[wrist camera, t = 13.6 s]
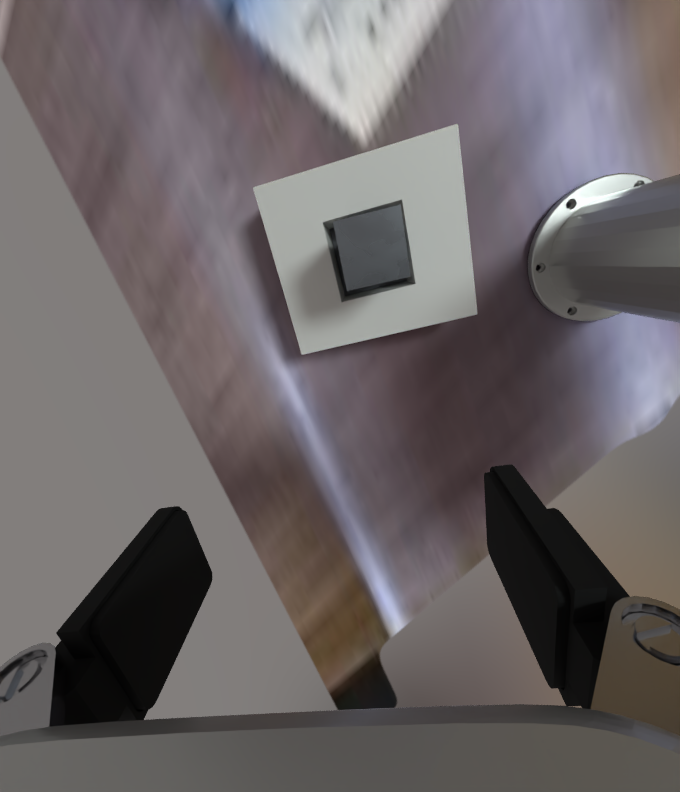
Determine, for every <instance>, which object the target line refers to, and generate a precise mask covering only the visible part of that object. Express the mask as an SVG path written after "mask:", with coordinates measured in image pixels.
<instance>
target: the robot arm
mask: <svg viewBox="0 0 680 792" xmlns="http://www.w3.org/2000/svg"><path fill="white" fill-rule="evenodd" d="M566 203H568V207H567V208H566ZM537 265H538V266H539V268H538V270H536V266H537ZM528 276H529V281H530V285H531V288H532V290H533V292H534V294H535V296H536V298H537V299H538V300H539V302H540V303H541V304H542V305H543V306H544V307H545V308H547V309H548V310H549V311H550V312H552V313H554V314H556V315H558V316H560V317H563V318H567V319H570V320H577V321H596V320H601V319H606V318H609V317H612V316H614V315H617V314H619V313H622V312H624V313H629V314H635V315H640V316H646V317H651V318H656V319H662V320H667V321H673V322H678V323H680V174H679V175H675V176H672V177H668V178H665V179H661V180H657V181H653V180H651V179H649V178H647V177H644V176H640V175H637V174H628V173H618V174H612V175H606V176H602V177H600V178H597V179H594V180H591V181H589V182H587V183H585V184H582V185H580V186H578V187H576V188H575V189H573V190H572V191H571V192H569V193H568V194H566V195H565V196H564V197H562V198H561V199H560V200H559V201H558V202H557V203H556V204H555V205H554V206H553V207H552V208H551V209H550V211H549V212H548V213H547V215H546V216H545V217H544V218H543V220H542V222H541V223H540V225H539V227H538V229H537V231H536V232H535V235H534V238H533V240H532V243H531V246H530V251H529V256H528ZM568 309H569V311H568ZM567 311H568V312H567ZM484 484H485V506H486V528H487V546H488V551H489V554H490V557H491V559H492V561H493V563H494V566H495V568H496V570H497V573H498V575H499V577H500V579H501V581H502V583H503V586H504V587H505V590H506V593H507V595H508V597H509V599H510V601H511V603H512V606H513V608H514V610H515V613H516V615H517V617H518V619H519V621H520V624H521V626H522V628H523V630H524V633H525V635H526V637H527V639H528V641H529V644H530V646H531V648H532V650H533V652H534V655H535V657H536V659H537V661H538V663H539V666H540V668H541V670H542V672H543V675H544V677H545V679H546V681H547V683H548V685H549V686H550V687H551V688H558V689H559V691H560V693H561V695H562V698H563V700H564V702H565V704H566V706H554V705H524V704H515V705H467V706H432V707H406V708H382V709H358V710H334V711H312V712H292V713H270V714H249V715H230V716H209V717H191V718H171V719H155V720H144V718H145V716H146V713H147V711H148V709H150V708H152V707H153V705H154V704H155V703H156V701H157V699H158V697H159V694H160V692H161V690H162V688H163V686H164V684H165V681H166V679H167V677H168V675H169V673H170V671H171V669H172V666H173V664H174V662H175V660H176V658H177V656H178V653H179V652H180V649H181V647H182V645H183V643H184V641H185V639H186V636H187V634H188V632H189V630H190V628H191V626H192V623H193V621H194V619H195V617H196V615H197V613H198V611H199V609H200V607H201V604H202V602H203V600H204V598H205V596H206V593H207V591H208V589H209V587H210V585H211V582H212V571H211V569H210V566H209V564H208V561H207V559H206V557H205V554H204V552H203V550H202V547H201V545H200V543H199V540H198V538H197V535H196V533H195V531H194V528H193V526H192V524H191V521H190V519H189V517H188V515H187V512H186V511H184V510H182V509H181V508H180V507H168V508H161V509H159V510H158V511H156V513H155V514H154V515H153V516H152V517H151V519H150V520H149V521H148V522H147V524H146V525H145V526H144V527H143V528H142V530H141V531H140V532H139V533H138V535H137V536H136V537H135V538H134V539H133V541H132V542H131V543H130V544H129V545H128V547H127V548H126V549H125V550H124V552H123V553H122V554H121V555H120V556H119V558H118V559H117V560H116V561H115V562H114V564H113V565H112V566H111V567H110V568H109V570H108V571H107V572H106V573H105V575H104V576H103V577H102V578H101V579H100V580H99V582H98V583H97V584H96V585H95V587H94V588H93V589H92V590H91V592H90V593H89V594H88V595H87V596H86V597H85V599H84V600H83V601H82V602H81V603H80V605H79V606H78V607H77V608H76V610H75V611H74V612H73V613H72V614H71V616H70V617H69V618H68V619H67V621H66V622H65V623H64V624H63V625H62V627H61V628H60V629H59V630H58V632H57V635H58V636H59V638H60V639H61V642H60V643H59V644H58V645H57V646H56V648H55V646H53V645H52V644H51V643H41V644H37V645H34V646H31V647H29V648H28V649H25V650H23V651H21V652H20V653H18V654H17V655H15V656H14V657H12V658H11V659H9V660H8V661H7V662H6V663H5V664H4V665H2V666H1V667H0V792H680V609H678V608H676V607H674V606H671V605H669V604H667V603H665V602H662V601H659V600H656V599H652V598H648V597H639V596H632V597H630V596H629V595H628V594H627V592H626V591H625V590H624V589H623V588H622V586H621V585H620V584H619V583H618V582H617V580H616V579H615V578H614V577H613V575H612V574H611V573H610V572H609V570H608V569H607V568H606V567H605V566H604V564H603V563H602V562H601V561H600V559H599V558H598V557H597V556H596V555H595V553H594V552H593V551H592V550H591V548H589V546H588V545H587V544H586V542H585V541H584V540H583V539H582V538H581V536H580V535H579V534H578V533H577V531H576V530H575V529H574V528H573V527H572V525H571V524H570V523H569V522H568V520H567V519H566V518H565V517H564V516H563V514H562V513H561V512H560V511H559V510H557V509H555V508H551V509H547V508H546V507H545V506H544V505H543V503H542V502H541V501H540V499H539V498H538V497H537V496H536V494H535V493H534V492H533V490H532V489H531V488H530V486H529V485H528V484H527V483H526V481H525V480H524V479H523V477H522V476H521V475H520V473H519V472H518V471H517V470H516V468H515V467H514V466H513V465H503V466H495V467H491V469H490V472H488V473H485V474H484ZM568 706H581V707H582V708H575V707H568Z"/></svg>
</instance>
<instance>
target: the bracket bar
mask: <svg viewBox="0 0 680 792" xmlns="http://www.w3.org/2000/svg"><path fill="white" fill-rule="evenodd" d="M333 225H334V230H335V235H336V240H337V245H338V250H339V255H340V260H341V264H342V269H343V274H344V279H345V284H346V289H347V291H350V290H354V289H358V288H363V287H367V286H372V285H376V284H380V283H385V282H389V281H394V280H398V279H403V278H407V277H411V275H410V268H409V261H408V254H407V247H406V240H405V232H404V225H403V218H402V211H401V204H400V205H396V206H392V207H388V208H385V209H381V210H377V211H373V212H369V213H365V214H361V215H357V216H353V217H349V218H346V219H342V220H338V221H334V222H333Z"/></svg>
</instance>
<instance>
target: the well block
mask: <svg viewBox="0 0 680 792" xmlns="http://www.w3.org/2000/svg"><path fill="white" fill-rule="evenodd" d="M253 189H254V193H255V196H256V200H257V203H258V207H259V210H260V213H261V217H262V220H263V224H264V227H265V230H266V234H267V237H268V241H269V244H270V248H271V251H272V254H273V258H274V261H275V265H276V268H277V272H278V275H279V278H280V282H281V285H282V289H283V292H284V296H285V299H286V302H287V306H288V309H289V313H290V316H291V320H292V323H293V326H294V330H295V333H296V337H297V340H298V344H299V347H300V350H301V354H302V355H304V354H308V353H312V352H317V351H321V350H325V349H330V348H334V347H338V346H343V345H347V344H351V343H356V342H360V341H364V340H369V339H373V338H377V337H382V336H386V335H390V334H395V333H399V332H404V331H408V330H412V329H417V328H421V327H425V326H430V325H434V324H438V323H443V322H447V321H451V320H456V319H460V318H464V317H469V316H473V315H477V304H476V294H475V285H474V275H473V266H472V256H471V246H470V237H469V227H468V217H467V208H466V198H465V188H464V179H463V169H462V159H461V150H460V140H459V131H458V124H455V125H452V126H449V127H446V128H443V129H439V130H436V131H433V132H430V133H427V134H423V135H420V136H417V137H414V138H410V139H407V140H404V141H401V142H398V143H394V144H391V145H388V146H385V147H382V148H378V149H375V150H372V151H369V152H366V153H362V154H359V155H356V156H353V157H349V158H346V159H343V160H340V161H337V162H333V163H330V164H327V165H324V166H321V167H317V168H314V169H311V170H308V171H305V172H301V173H298V174H295V175H292V176H288V177H285V178H282V179H279V180H276V181H272V182H269V183H266V184H263V185H260V186H256V187H253ZM400 204H401V211H402V218H403V225H404V232H405V240H406V247H407V254H408V261H409V268H410V275H411V277H407V278H403V279H398V280H394V281H389V282H385V283H380V284H376V285H372V286H367V287H363V288H358V289H354V290H350V291H347V289H346V284H345V279H344V274H343V269H342V264H341V260H340V255H339V250H338V245H337V240H336V235H335V230H334V225H333V222H334V221H338V220H342V219H346V218H349V217H353V216H357V215H361V214H365V213H369V212H373V211H377V210H381V209H385V208H388V207H392V206H396V205H400ZM329 229H330V230H329ZM330 233H331V235H330ZM331 238H332V239H331ZM332 242H333V243H332ZM333 246H334V247H333ZM334 251H335V252H334ZM335 255H336V256H335ZM336 259H337V260H336ZM337 264H338V265H337ZM338 268H339V269H338ZM339 272H340V273H339ZM340 276H341V277H340ZM341 281H342V282H341ZM403 281H404V282H403ZM399 282H400V283H399ZM395 283H396V284H395ZM391 284H392V285H391ZM342 285H343V286H342ZM387 285H388V286H387ZM383 286H384V287H383ZM379 287H380V288H379ZM375 288H376V289H375ZM343 289H344V290H343ZM371 289H372V290H371ZM367 290H368V291H367ZM363 291H364V292H363ZM359 292H360V293H359ZM355 293H356V294H355ZM344 294H345V295H344Z"/></svg>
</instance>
